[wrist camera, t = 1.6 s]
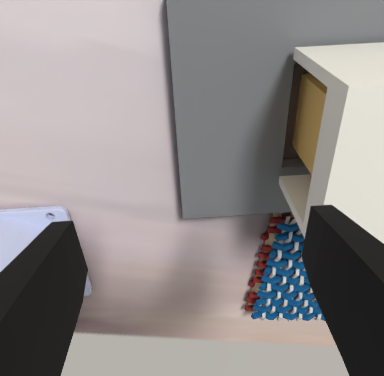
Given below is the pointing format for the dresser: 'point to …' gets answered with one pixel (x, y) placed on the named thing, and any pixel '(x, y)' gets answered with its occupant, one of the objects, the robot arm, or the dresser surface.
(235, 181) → the puzzle board
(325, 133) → the cover
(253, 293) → the woven mat
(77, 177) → the dresser surface
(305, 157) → the ochre block
